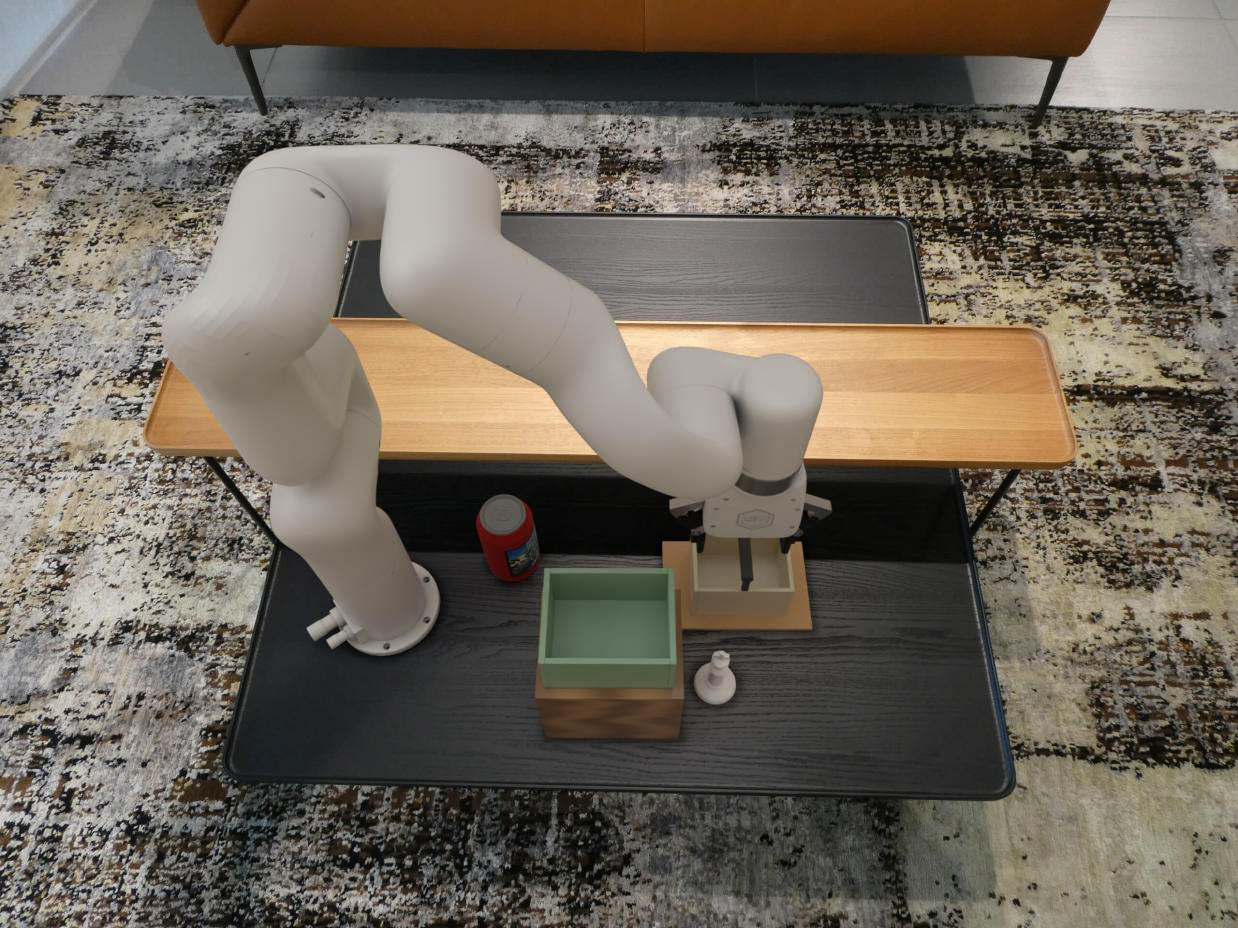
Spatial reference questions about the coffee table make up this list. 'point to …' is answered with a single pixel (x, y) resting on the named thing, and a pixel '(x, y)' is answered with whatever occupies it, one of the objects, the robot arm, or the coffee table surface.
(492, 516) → the beverage can
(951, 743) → the coffee table surface
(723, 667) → the chess piece
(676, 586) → the cork mat
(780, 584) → the cream bin
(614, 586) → the green bin
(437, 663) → the coffee table surface
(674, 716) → the wooden block
